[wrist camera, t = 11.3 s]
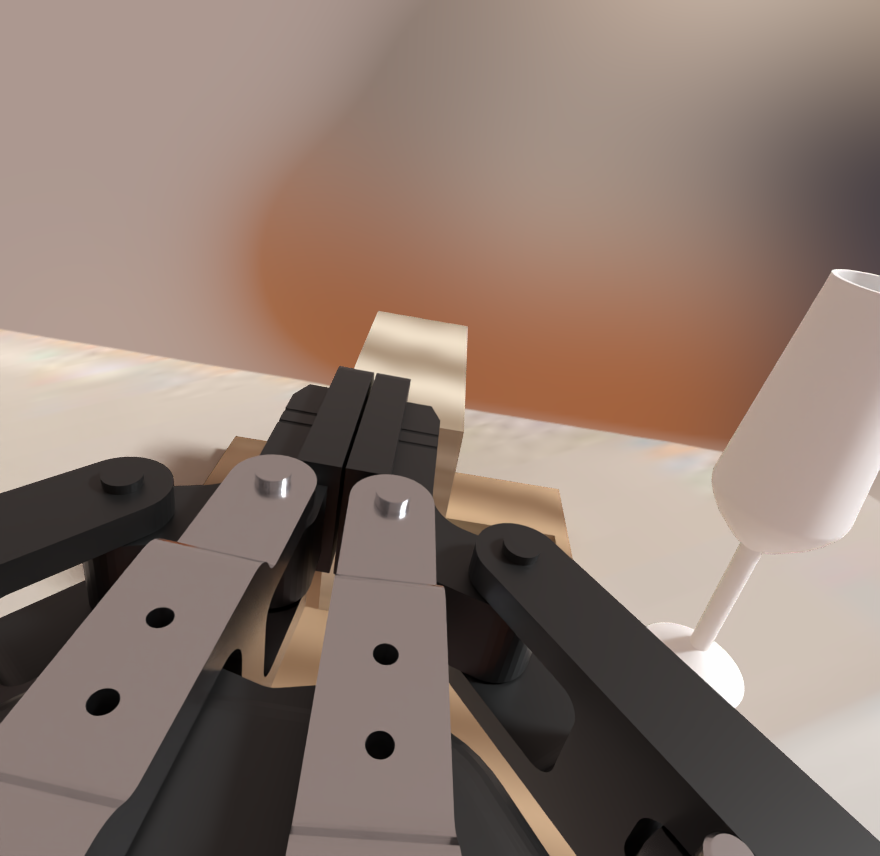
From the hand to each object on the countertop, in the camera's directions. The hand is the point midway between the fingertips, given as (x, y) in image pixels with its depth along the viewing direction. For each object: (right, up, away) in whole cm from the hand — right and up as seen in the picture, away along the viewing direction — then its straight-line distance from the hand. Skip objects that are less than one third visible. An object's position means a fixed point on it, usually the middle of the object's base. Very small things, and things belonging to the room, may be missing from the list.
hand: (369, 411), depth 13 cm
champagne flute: (+17, -15, +25) cm, 34 cm away
